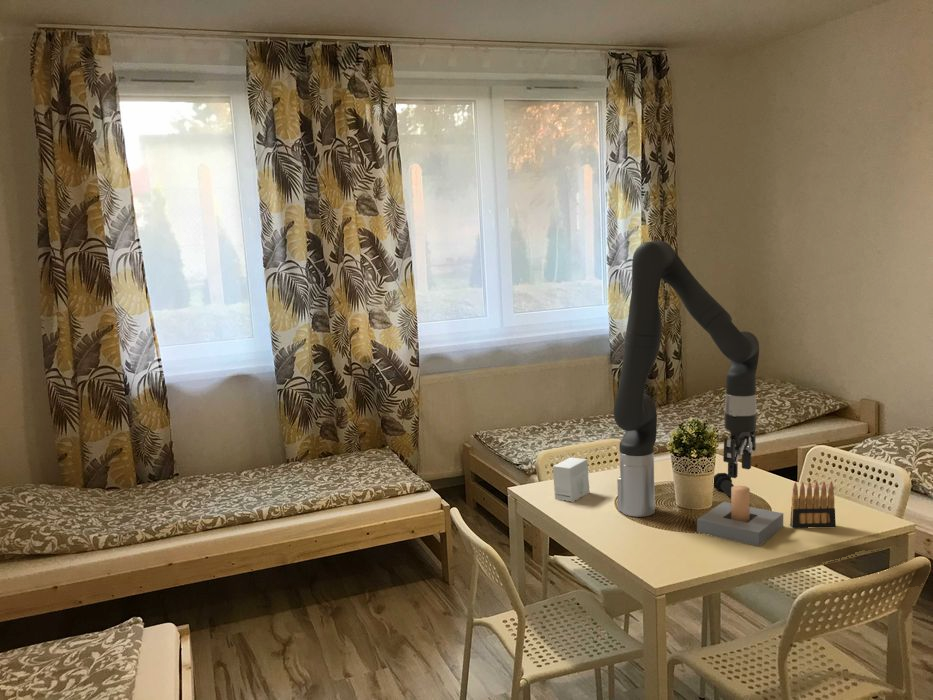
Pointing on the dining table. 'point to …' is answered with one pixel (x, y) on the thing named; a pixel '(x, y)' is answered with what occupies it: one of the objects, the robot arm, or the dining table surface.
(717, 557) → the dining table surface
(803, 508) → the ammunition clip
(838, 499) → the dining table surface
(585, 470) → the skincare box
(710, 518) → the socket block
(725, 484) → the microphone
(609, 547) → the dining table surface
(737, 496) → the peg
